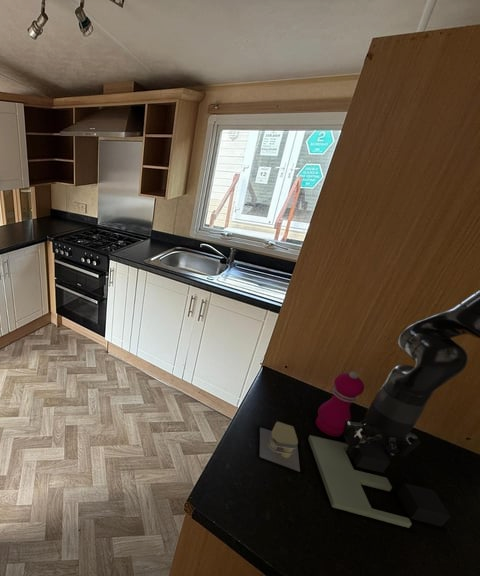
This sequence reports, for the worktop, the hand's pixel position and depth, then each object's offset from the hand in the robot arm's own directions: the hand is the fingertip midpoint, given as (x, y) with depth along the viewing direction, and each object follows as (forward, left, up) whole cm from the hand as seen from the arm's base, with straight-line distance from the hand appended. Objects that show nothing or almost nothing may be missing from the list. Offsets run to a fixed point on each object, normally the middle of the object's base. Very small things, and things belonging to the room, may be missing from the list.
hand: (365, 458), depth 76 cm
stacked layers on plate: (+19, +1, -3) cm, 19 cm away
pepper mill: (+4, -10, -3) cm, 11 cm away
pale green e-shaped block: (+4, +5, -2) cm, 6 cm away
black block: (-7, +9, -2) cm, 11 cm away
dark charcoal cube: (0, 0, -1) cm, 1 cm away
